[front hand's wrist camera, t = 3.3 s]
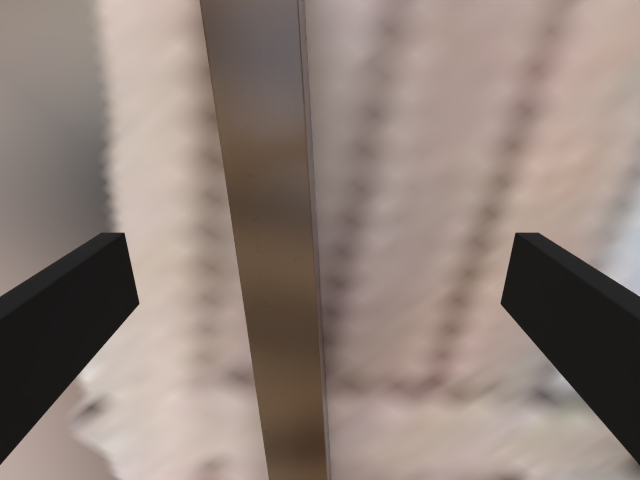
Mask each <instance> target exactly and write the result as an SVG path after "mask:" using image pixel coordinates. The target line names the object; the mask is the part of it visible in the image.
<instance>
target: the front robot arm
mask: <svg viewBox="0 0 640 480" xmlns="http://www.w3.org/2000/svg"><path fill="white" fill-rule="evenodd" d="M138 305H139V299H138V295H137V290H136V285H135V280H134V276H133V271H132V266H131V262H130V257H129V252H128V247H127V243H126V238H125V233H100V234H99V235H97V236H96V237H94V238H92V239H91V240H89V241H88V242H86V243H85V244H83V245H81V246H80V247H78V248H77V249H75V250H73V251H72V252H70V253H69V254H67V255H66V256H64V257H62V258H61V259H59V260H58V261H56V262H54V263H53V264H51V265H50V266H48V267H47V268H45V269H43V270H42V271H40V272H39V273H37V274H35V275H34V276H32V277H31V278H29V279H28V280H26V281H24V282H23V283H21V284H20V285H18V286H16V287H15V288H13V289H12V290H10V291H9V292H7V293H5V294H4V295H2V296H1V297H0V465H1V463H2V462H3V461H4V460H5V459H6V458H7V456H8V455H9V454H10V453H11V452H12V451H13V450H14V448H15V447H16V446H17V445H18V444H19V443H20V441H21V440H22V439H23V438H24V437H25V436H26V435H27V433H28V432H29V431H30V430H31V429H32V428H33V426H34V425H35V424H36V423H37V422H38V421H39V419H40V418H41V417H42V416H43V415H44V414H45V413H46V411H47V410H48V409H49V408H50V407H51V406H52V404H53V403H54V402H55V401H56V400H57V399H58V397H59V396H60V395H61V394H62V393H63V392H64V390H65V389H66V388H67V387H68V386H69V385H70V384H71V382H72V381H73V380H74V379H75V378H76V377H77V375H78V374H79V373H80V372H81V371H82V370H83V369H84V367H85V366H86V365H87V364H88V363H89V362H90V360H91V359H92V358H93V357H94V356H95V355H96V353H97V352H98V351H99V350H100V349H101V348H102V347H103V345H104V344H105V343H106V342H107V341H108V340H109V338H110V337H111V336H112V335H113V334H114V333H115V331H116V330H117V329H118V328H119V327H120V326H121V325H122V323H123V322H124V321H125V320H126V319H127V318H128V316H129V315H130V314H131V313H132V312H133V311H134V310H135V308H136V307H137V306H138ZM501 305H502V306H503V307H504V308H505V310H506V311H507V312H508V313H509V314H510V315H511V316H512V318H513V319H514V320H515V321H516V322H517V323H518V325H519V326H520V327H521V328H522V329H523V330H524V331H525V333H526V334H527V335H528V336H529V337H530V338H531V340H532V341H533V342H534V343H535V344H536V345H537V347H538V348H539V349H540V350H541V351H542V352H543V353H544V355H545V356H546V357H547V358H548V359H549V360H550V362H551V363H552V364H553V365H554V366H555V367H556V369H557V370H558V371H559V372H560V373H561V374H562V375H563V377H564V378H565V379H566V380H567V381H568V382H569V384H570V385H571V386H572V387H573V388H574V389H575V391H576V392H577V393H578V394H579V395H580V396H581V397H582V399H583V400H584V401H585V402H586V403H587V404H588V406H589V407H590V408H591V409H592V410H593V411H594V413H595V414H596V415H597V416H598V417H599V418H600V419H601V421H602V422H603V423H604V424H605V425H606V426H607V428H608V429H609V430H610V431H611V432H612V433H613V435H614V436H615V437H616V438H617V439H618V440H619V441H620V443H621V444H622V445H623V446H624V447H625V448H626V450H627V451H628V452H629V453H630V454H631V455H632V457H633V458H634V459H635V460H636V461H637V462H638V463H639V465H640V297H639V296H638V295H636V294H635V293H633V292H631V291H630V290H628V289H627V288H625V287H624V286H622V285H620V284H619V283H617V282H616V281H614V280H612V279H611V278H609V277H608V276H606V275H605V274H603V273H601V272H600V271H598V270H597V269H595V268H593V267H592V266H590V265H589V264H587V263H586V262H584V261H582V260H581V259H579V258H578V257H576V256H574V255H573V254H571V253H570V252H568V251H567V250H565V249H563V248H562V247H560V246H559V245H557V244H555V243H554V242H552V241H551V240H549V239H548V238H546V237H544V236H543V235H541V234H540V233H515V238H514V243H513V247H512V252H511V257H510V262H509V266H508V271H507V276H506V280H505V285H504V290H503V295H502V299H501Z"/></svg>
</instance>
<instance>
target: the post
mask: <svg viewBox="0 0 640 480" xmlns="http://www.w3.org/2000/svg"><path fill="white" fill-rule="evenodd" d="M200 6H201V13H202V20H203V27H204V33H205V40H206V47H207V54H208V61H209V68H210V75H211V82H212V89H213V96H214V102H215V109H216V116H217V123H218V130H219V137H220V144H221V151H222V158H223V165H224V171H225V178H226V185H227V192H228V199H229V206H230V213H231V220H232V227H233V234H234V241H235V247H236V254H237V261H238V268H239V275H240V282H241V289H242V296H243V303H244V310H245V316H246V323H247V330H248V337H249V344H250V351H251V358H252V365H253V372H254V379H255V385H256V392H257V399H258V406H259V413H260V420H261V427H262V434H263V441H264V448H265V454H266V461H267V468H268V475H269V480H331V465H330V447H329V429H328V412H327V394H326V376H325V359H324V341H323V324H322V306H321V288H320V271H319V253H318V235H317V218H316V200H315V182H314V165H313V147H312V129H311V112H310V94H309V76H308V59H307V41H306V23H305V6H304V0H200Z"/></svg>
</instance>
